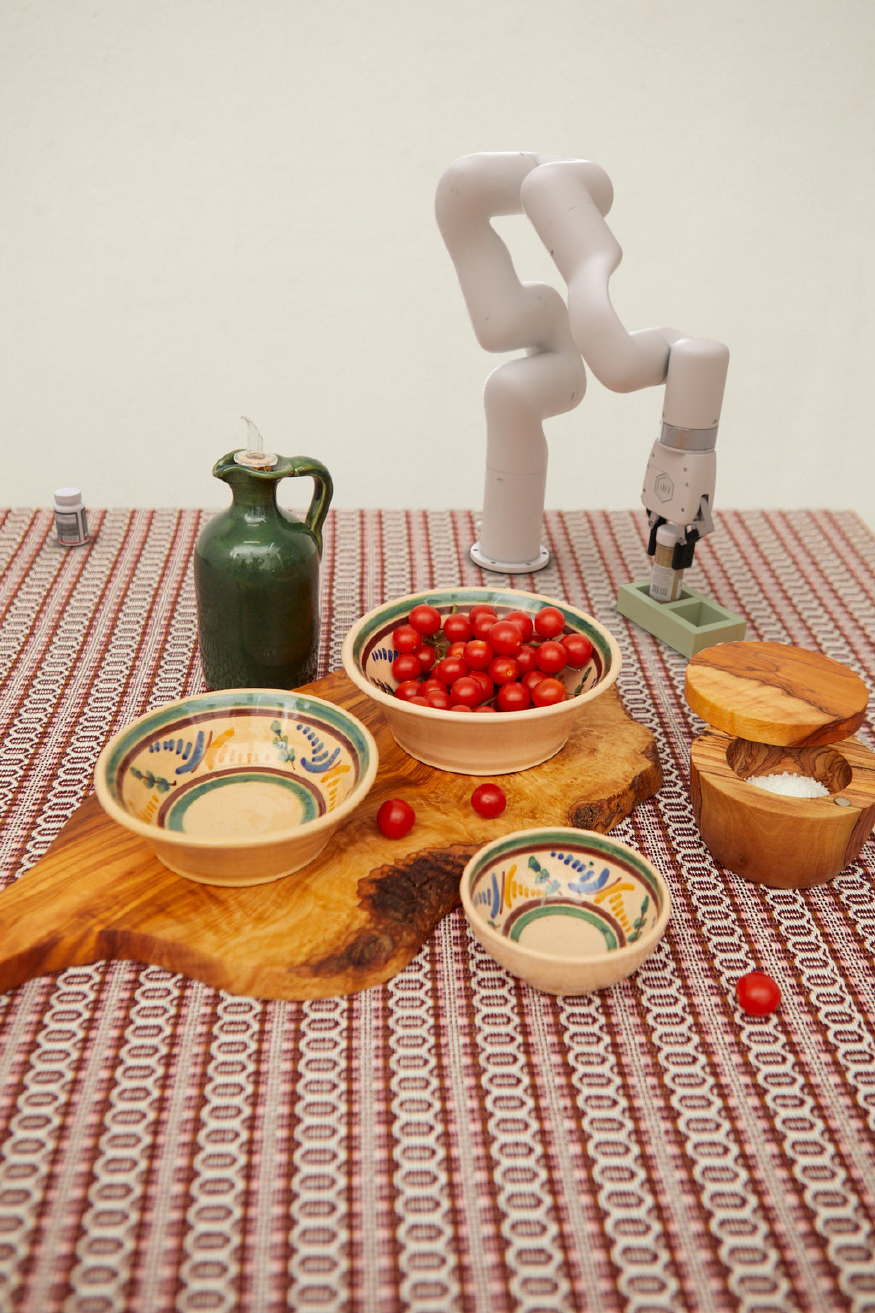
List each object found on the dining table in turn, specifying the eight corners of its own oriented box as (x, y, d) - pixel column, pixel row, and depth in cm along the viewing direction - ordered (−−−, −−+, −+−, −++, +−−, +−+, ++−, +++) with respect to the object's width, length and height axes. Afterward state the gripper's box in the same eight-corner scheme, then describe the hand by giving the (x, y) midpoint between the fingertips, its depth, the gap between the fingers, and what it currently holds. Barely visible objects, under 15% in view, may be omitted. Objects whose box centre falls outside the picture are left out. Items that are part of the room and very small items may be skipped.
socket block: (691, 660, 147) (695, 634, 145) (616, 610, 160) (619, 585, 158) (742, 647, 151) (747, 621, 149) (665, 599, 164) (669, 574, 162)
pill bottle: (76, 533, 178) (70, 484, 174) (95, 540, 176) (89, 490, 172) (52, 541, 175) (45, 491, 171) (71, 549, 172) (64, 498, 168)
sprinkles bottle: (683, 618, 158) (697, 531, 152) (660, 625, 156) (674, 537, 149) (661, 606, 161) (674, 520, 155) (638, 612, 159) (650, 526, 153)
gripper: (626, 421, 151) (611, 543, 159) (708, 457, 138) (687, 588, 146) (669, 415, 154) (652, 536, 163) (753, 450, 141) (730, 579, 150)
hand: (669, 559), depth 154 cm, fingers closed on sprinkles bottle, 4 cm apart
